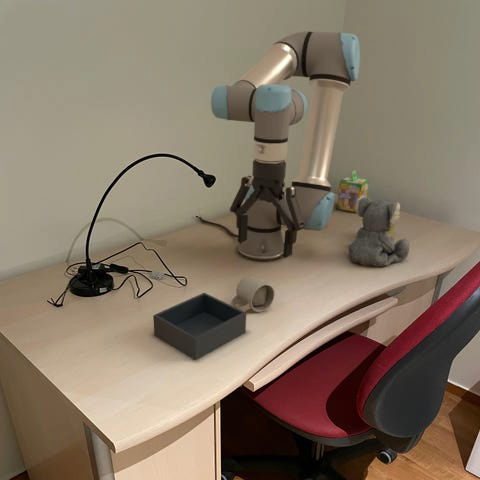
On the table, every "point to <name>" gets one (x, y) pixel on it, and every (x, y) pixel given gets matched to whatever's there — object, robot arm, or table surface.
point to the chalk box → (351, 192)
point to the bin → (199, 325)
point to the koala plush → (377, 234)
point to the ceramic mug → (254, 294)
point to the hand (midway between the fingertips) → (264, 248)
